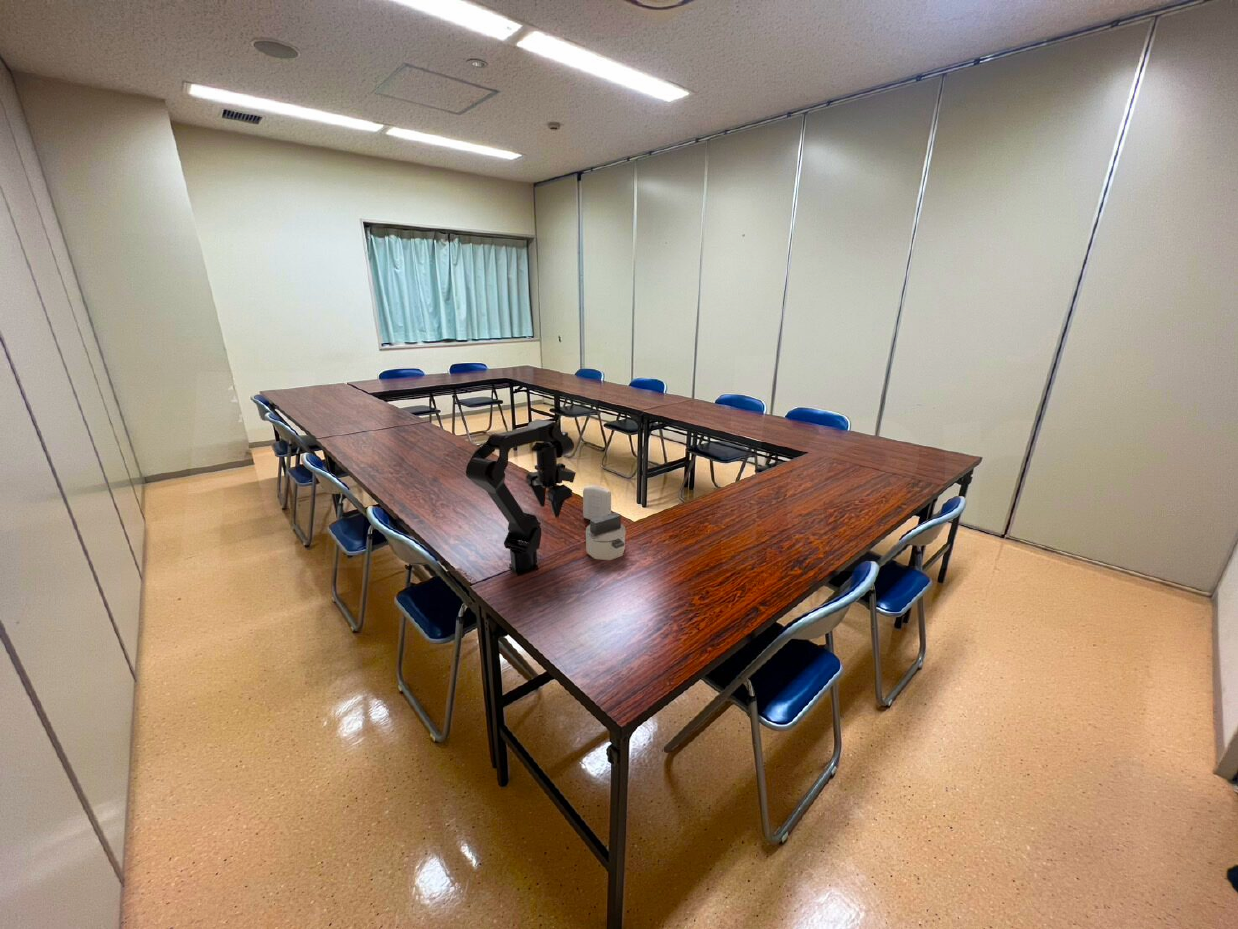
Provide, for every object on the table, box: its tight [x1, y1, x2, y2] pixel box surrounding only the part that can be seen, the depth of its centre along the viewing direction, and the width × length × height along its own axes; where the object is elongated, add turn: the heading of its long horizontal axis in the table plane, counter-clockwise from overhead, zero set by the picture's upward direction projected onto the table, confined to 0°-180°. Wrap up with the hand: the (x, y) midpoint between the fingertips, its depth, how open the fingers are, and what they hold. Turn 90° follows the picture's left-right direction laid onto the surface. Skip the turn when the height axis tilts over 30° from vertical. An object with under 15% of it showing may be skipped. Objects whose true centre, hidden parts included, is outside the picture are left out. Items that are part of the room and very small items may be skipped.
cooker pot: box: [585, 535, 626, 561], centre depth 143 cm, size 11×15×6 cm
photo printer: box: [582, 484, 612, 521], centre depth 163 cm, size 10×4×12 cm, turn 60°
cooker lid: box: [585, 512, 627, 542], centre depth 142 cm, size 12×12×5 cm
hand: (549, 511), depth 142 cm, fingers open, 9 cm apart
